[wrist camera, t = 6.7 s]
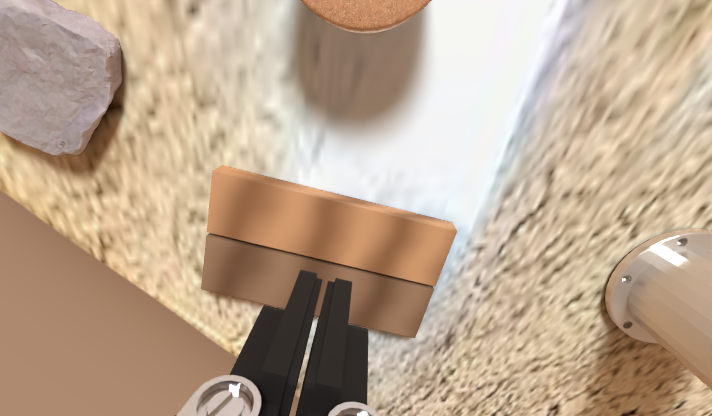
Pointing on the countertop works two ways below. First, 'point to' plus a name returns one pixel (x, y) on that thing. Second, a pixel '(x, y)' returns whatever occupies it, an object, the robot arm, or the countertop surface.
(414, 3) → the lidded jar
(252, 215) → the chestnut plank
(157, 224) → the countertop surface
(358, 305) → the walnut board
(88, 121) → the stone block
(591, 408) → the countertop surface
